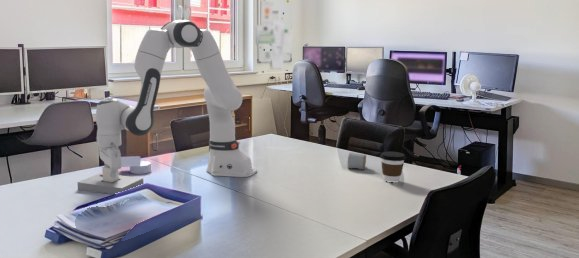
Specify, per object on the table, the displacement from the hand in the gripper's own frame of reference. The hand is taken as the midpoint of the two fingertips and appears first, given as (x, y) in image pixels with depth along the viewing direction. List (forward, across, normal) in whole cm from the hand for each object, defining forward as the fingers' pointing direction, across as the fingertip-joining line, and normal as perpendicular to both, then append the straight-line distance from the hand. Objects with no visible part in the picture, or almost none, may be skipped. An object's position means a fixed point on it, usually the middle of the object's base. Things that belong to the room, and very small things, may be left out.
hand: (110, 175), depth 195 cm
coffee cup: (+6, -47, -106) cm, 116 cm away
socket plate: (+5, 0, 0) cm, 5 cm away
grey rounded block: (+6, -23, -107) cm, 109 cm away
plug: (+3, 0, 0) cm, 3 cm away
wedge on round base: (+5, +19, -15) cm, 25 cm away
